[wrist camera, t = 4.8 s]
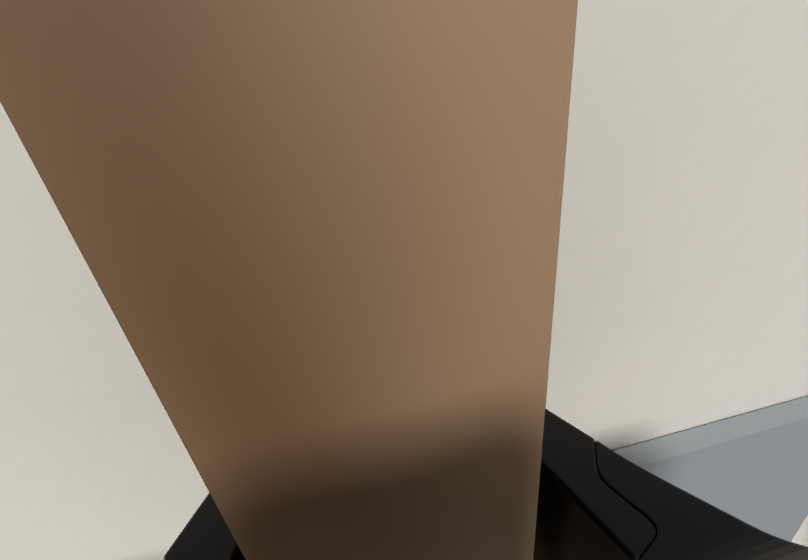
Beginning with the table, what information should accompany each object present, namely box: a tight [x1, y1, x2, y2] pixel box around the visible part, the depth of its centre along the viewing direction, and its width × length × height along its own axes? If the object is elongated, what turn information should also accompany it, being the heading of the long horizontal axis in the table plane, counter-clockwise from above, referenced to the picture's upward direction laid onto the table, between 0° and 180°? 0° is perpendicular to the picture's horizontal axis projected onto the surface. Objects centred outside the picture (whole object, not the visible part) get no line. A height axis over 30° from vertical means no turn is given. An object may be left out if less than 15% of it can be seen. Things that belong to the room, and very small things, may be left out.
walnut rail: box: [0, 0, 578, 560], centre depth 8 cm, size 4×18×5 cm, turn 6°
